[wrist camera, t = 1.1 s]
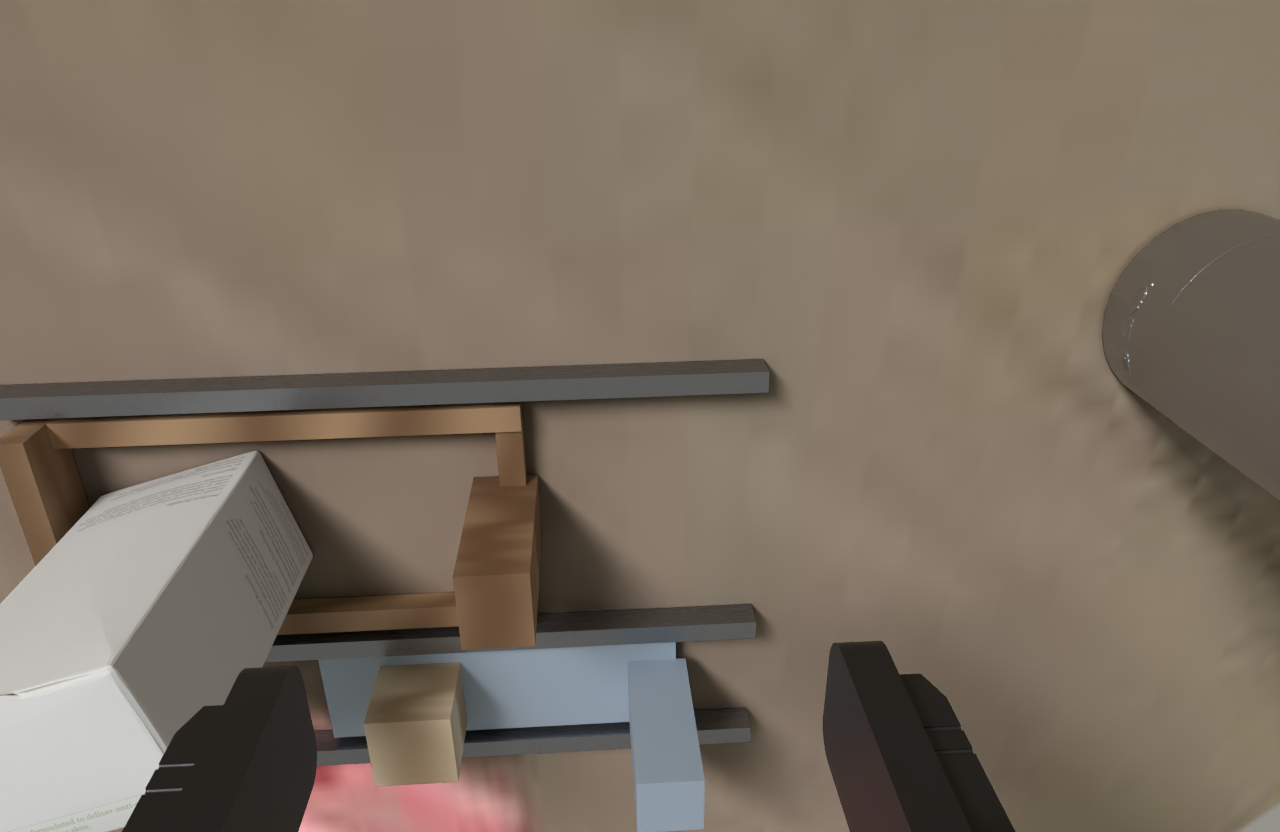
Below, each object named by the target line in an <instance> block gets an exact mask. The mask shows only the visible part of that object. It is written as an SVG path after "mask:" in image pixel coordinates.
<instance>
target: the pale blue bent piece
mask: <svg viewBox="0 0 1280 832" xmlns="http://www.w3.org/2000/svg"><path fill="white" fill-rule="evenodd" d="M318 662H319V667H320V671H321V676H322V681H323V686H324V691H325V696H326V700H327V705H328V710H329V715H330V720H331V725H332V729H333V734H334V738H338V737H356V736H366V735H365V729H364V720H365V717H366V714H367V710H368V707H369V703H370V700H371V696H372V693H373V689H374V686H375V683H376V679H377V676H378V672H379V669H380V666H391V665H411V664H431V663H450V662H460V666H461V674H462V682H463V690H464V698H465V707H466V715H467V728H466V731H467V730H486V729H504V728H523V727H542V726H560V725H579V724H597V723H616V722H630V736H631V750H632V765H633V779H634V793H635V808H636V822H637V832H663V831H680V830H696V829H704V793H705V778H704V772H703V766H702V760H701V753H700V747H699V741H698V734H697V728H696V722H695V716H694V709H693V703H692V697H691V690H690V684H689V678H688V671H687V665H686V659H685V658H683V659H676V642H667V643H647V644H627V645H607V646H587V647H567V648H546V649H526V650H506V651H486V652H466V653H446V654H426V655H406V656H385V657H365V658H345V659H325V660H318Z"/></svg>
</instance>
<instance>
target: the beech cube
mask: <svg viewBox="0 0 1280 832" xmlns="http://www.w3.org/2000/svg"><path fill="white" fill-rule="evenodd" d="M466 728H467V715H466V707H465V698H464V690H463V682H462V674H461V666H460V662H450V663H431V664H411V665H391V666H380V669H379V672H378V676H377V679H376V683H375V686H374V689H373V693H372V696H371V700H370V703H369V707H368V710H367V714H366V717H365V720H364V729H365V735H366V740H367V745H368V751H369V756H370V761H371V767H372V772H373V777H374V783H375V786H393V785H411V784H428V783H446V782H458V781H459V774H460V768H461V761H462V754H463V748H464V741H465V734H466Z"/></svg>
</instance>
